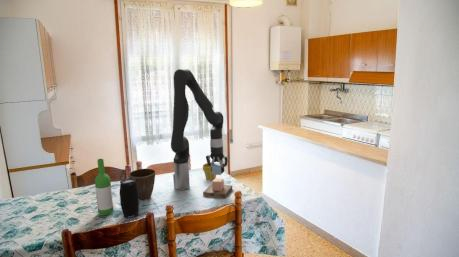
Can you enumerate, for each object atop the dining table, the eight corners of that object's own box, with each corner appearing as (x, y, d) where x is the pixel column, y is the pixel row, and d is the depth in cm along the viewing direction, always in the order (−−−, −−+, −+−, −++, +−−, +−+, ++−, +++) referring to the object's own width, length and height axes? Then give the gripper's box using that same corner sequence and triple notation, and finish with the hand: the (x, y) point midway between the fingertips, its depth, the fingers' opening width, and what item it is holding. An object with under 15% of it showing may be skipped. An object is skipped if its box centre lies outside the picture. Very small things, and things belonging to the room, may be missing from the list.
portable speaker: (118, 217, 167) (115, 181, 164) (132, 210, 175) (128, 176, 171) (130, 220, 163) (126, 184, 159) (143, 213, 171) (140, 178, 167)
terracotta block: (212, 189, 194) (212, 181, 193) (215, 186, 199) (215, 178, 198) (221, 190, 193) (220, 182, 192) (223, 187, 198) (223, 179, 197)
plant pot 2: (211, 182, 214) (211, 168, 212) (200, 179, 220) (199, 165, 218) (221, 177, 222) (220, 164, 220) (210, 174, 228) (209, 161, 226)
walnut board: (203, 195, 192) (203, 191, 191) (211, 187, 205) (211, 183, 205) (225, 198, 188) (225, 194, 187) (232, 189, 201) (232, 185, 200)
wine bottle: (108, 208, 178) (103, 156, 172) (116, 212, 173) (111, 158, 167) (95, 213, 172) (89, 159, 166) (103, 217, 167) (97, 162, 161)
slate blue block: (211, 174, 192) (211, 165, 191) (215, 171, 197) (214, 162, 196) (220, 175, 191) (220, 166, 190) (223, 172, 196) (223, 163, 195)
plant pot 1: (150, 204, 182) (148, 177, 179) (126, 202, 185) (124, 176, 182) (161, 194, 196) (159, 169, 193) (138, 192, 199) (136, 168, 196)
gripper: (230, 144, 192) (230, 171, 195) (207, 143, 196) (208, 169, 200) (226, 147, 185) (227, 175, 188) (203, 146, 189) (204, 173, 192)
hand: (217, 172), depth 194 cm, fingers closed on slate blue block, 5 cm apart
